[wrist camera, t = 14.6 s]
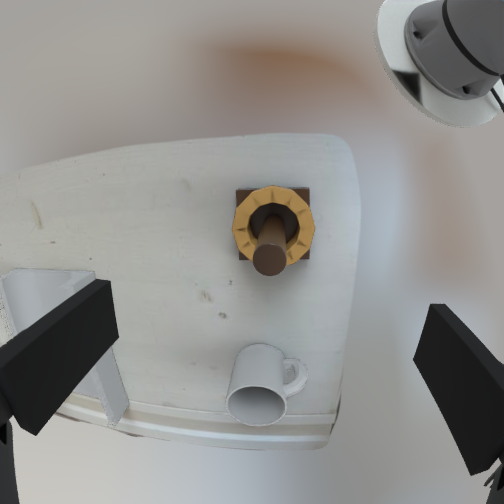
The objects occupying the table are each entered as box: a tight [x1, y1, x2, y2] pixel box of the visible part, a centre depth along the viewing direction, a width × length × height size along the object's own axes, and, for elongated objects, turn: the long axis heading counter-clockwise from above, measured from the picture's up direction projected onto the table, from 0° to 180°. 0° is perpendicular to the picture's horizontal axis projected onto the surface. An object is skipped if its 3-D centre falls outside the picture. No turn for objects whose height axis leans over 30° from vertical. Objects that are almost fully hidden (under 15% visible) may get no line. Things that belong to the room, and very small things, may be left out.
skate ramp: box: [0, 268, 129, 428], centre depth 39 cm, size 25×23×10 cm
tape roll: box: [232, 185, 315, 265], centre depth 32 cm, size 8×8×3 cm
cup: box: [225, 344, 308, 426], centre depth 36 cm, size 7×10×9 cm
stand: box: [236, 188, 310, 276], centre depth 28 cm, size 8×8×14 cm
